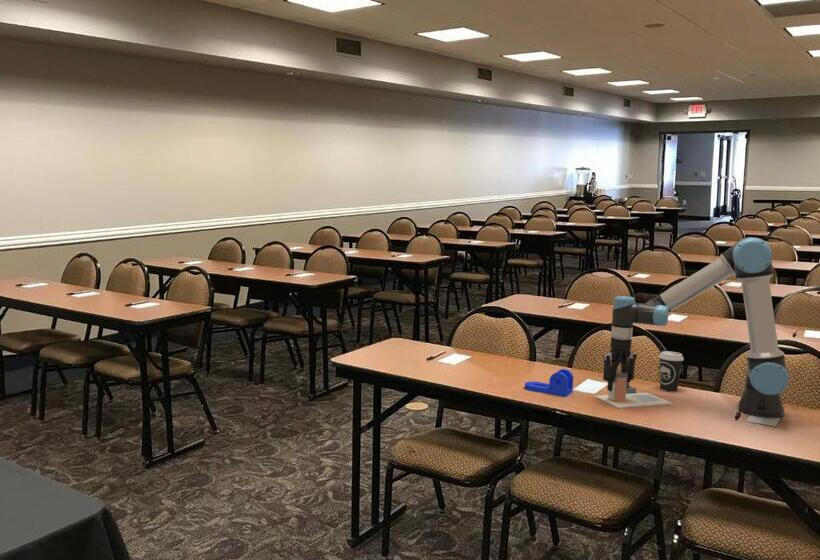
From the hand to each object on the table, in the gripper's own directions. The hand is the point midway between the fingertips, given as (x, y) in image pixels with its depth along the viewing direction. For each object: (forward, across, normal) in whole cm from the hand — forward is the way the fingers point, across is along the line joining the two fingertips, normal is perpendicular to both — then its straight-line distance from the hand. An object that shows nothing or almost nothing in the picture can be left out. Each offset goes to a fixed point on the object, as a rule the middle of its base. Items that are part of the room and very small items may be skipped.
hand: (616, 398), depth 261 cm
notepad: (+1, -7, 0) cm, 7 cm away
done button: (-1, -11, -11) cm, 16 cm away
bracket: (+2, +18, -19) cm, 27 cm away
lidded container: (0, 0, 0) cm, 0 cm away
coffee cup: (+1, -33, -11) cm, 35 cm away
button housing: (+1, -11, -11) cm, 16 cm away
